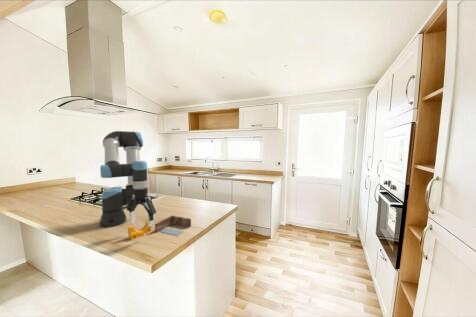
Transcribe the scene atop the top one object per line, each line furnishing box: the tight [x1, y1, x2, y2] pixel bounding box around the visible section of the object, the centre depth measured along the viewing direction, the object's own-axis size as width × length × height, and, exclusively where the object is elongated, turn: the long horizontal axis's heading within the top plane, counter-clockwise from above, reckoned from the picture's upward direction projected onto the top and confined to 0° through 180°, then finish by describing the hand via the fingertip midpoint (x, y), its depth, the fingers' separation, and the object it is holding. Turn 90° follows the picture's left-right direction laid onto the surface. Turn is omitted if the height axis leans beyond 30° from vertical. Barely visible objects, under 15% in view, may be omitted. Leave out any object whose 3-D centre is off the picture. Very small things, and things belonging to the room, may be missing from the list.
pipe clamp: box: [127, 220, 152, 241], centre depth 109 cm, size 12×4×6 cm, turn 143°
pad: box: [159, 227, 183, 236], centre depth 113 cm, size 13×5×1 cm, turn 68°
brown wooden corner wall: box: [154, 215, 192, 233], centre depth 117 cm, size 15×15×5 cm
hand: (141, 224), depth 108 cm, fingers open, 13 cm apart
